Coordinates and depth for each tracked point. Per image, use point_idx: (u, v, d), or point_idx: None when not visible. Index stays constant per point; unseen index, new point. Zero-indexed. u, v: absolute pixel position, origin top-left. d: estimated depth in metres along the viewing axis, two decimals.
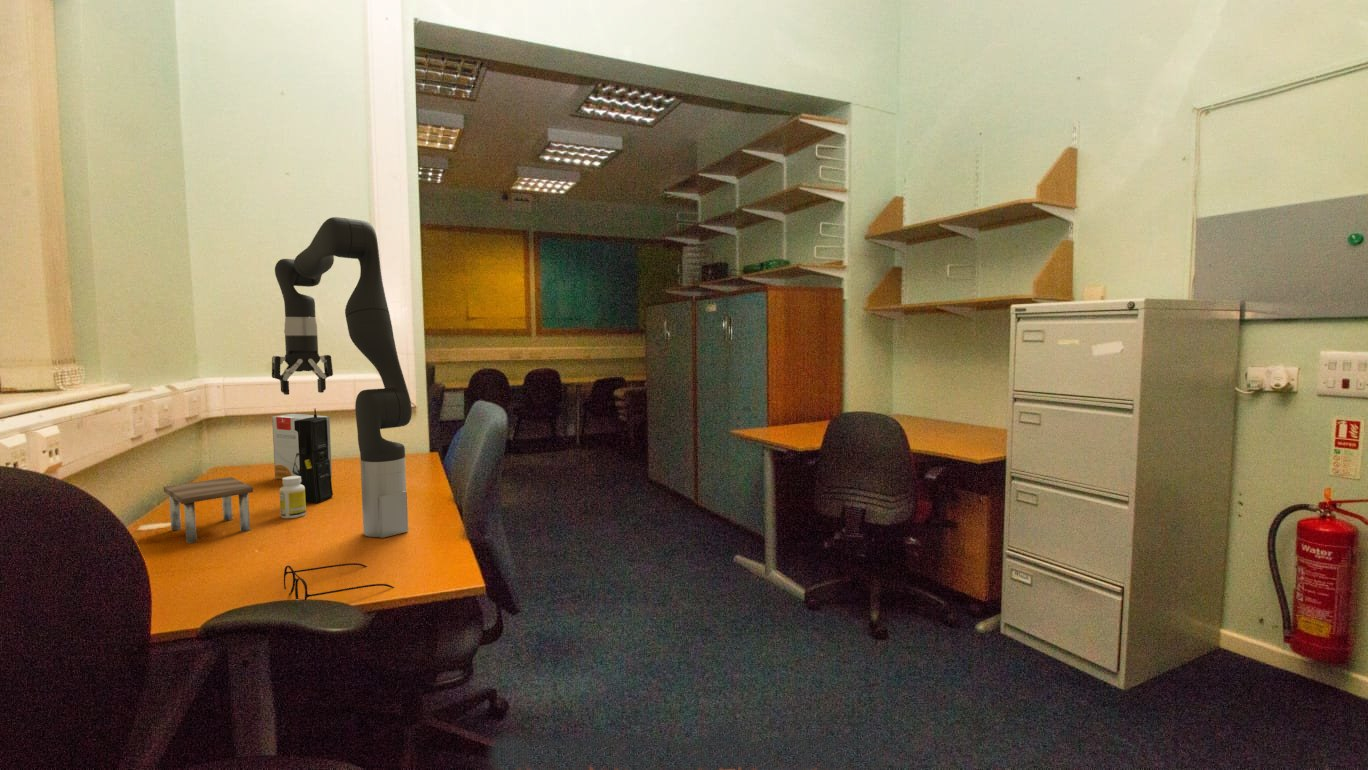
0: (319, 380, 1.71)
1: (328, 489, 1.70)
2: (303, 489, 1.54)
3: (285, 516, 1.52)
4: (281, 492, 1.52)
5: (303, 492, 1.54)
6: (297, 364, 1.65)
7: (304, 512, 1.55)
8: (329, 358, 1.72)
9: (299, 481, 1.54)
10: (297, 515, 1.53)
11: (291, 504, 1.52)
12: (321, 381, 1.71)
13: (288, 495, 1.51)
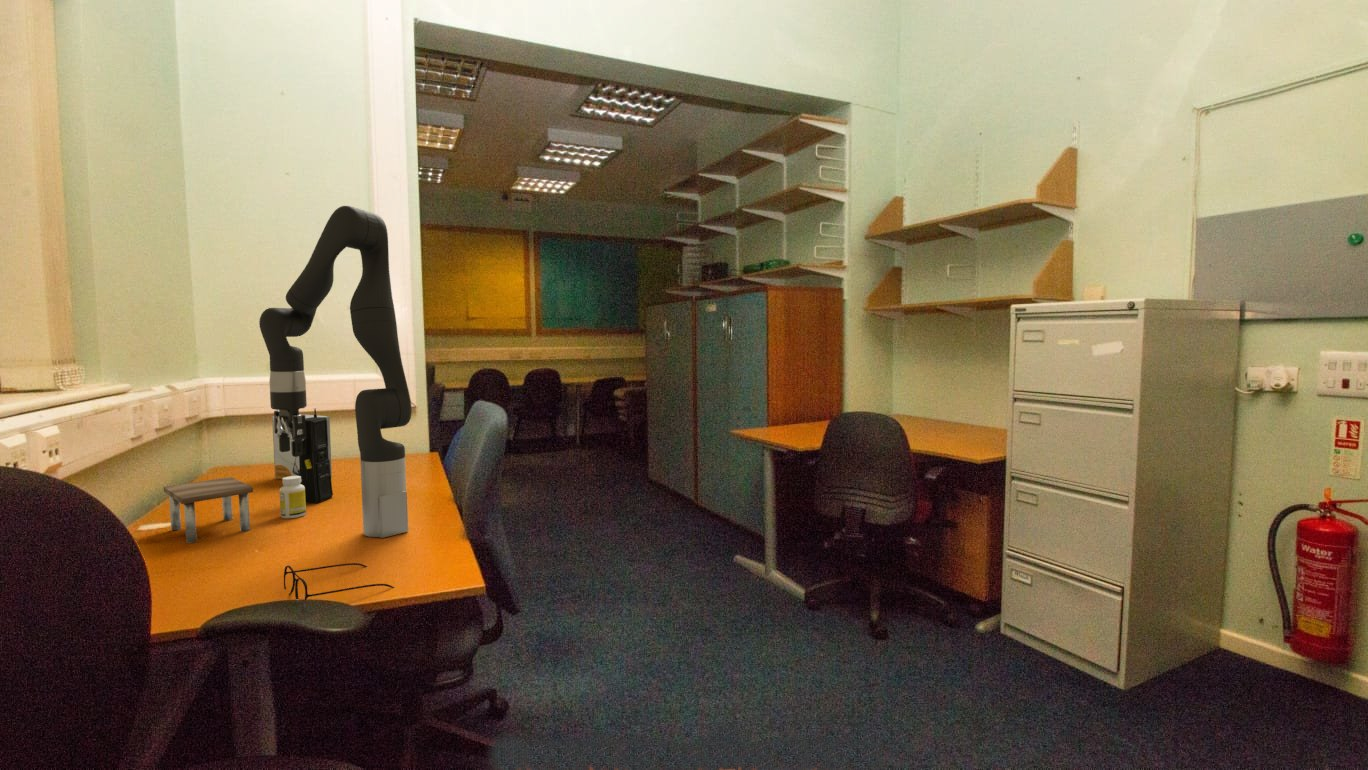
0: (286, 438, 1.56)
1: (328, 489, 1.70)
2: (303, 489, 1.54)
3: (285, 516, 1.52)
4: (281, 492, 1.52)
5: (303, 492, 1.54)
6: None
7: (304, 512, 1.55)
8: None
9: (299, 481, 1.54)
10: (297, 515, 1.53)
11: (291, 504, 1.52)
12: None
13: (288, 495, 1.51)
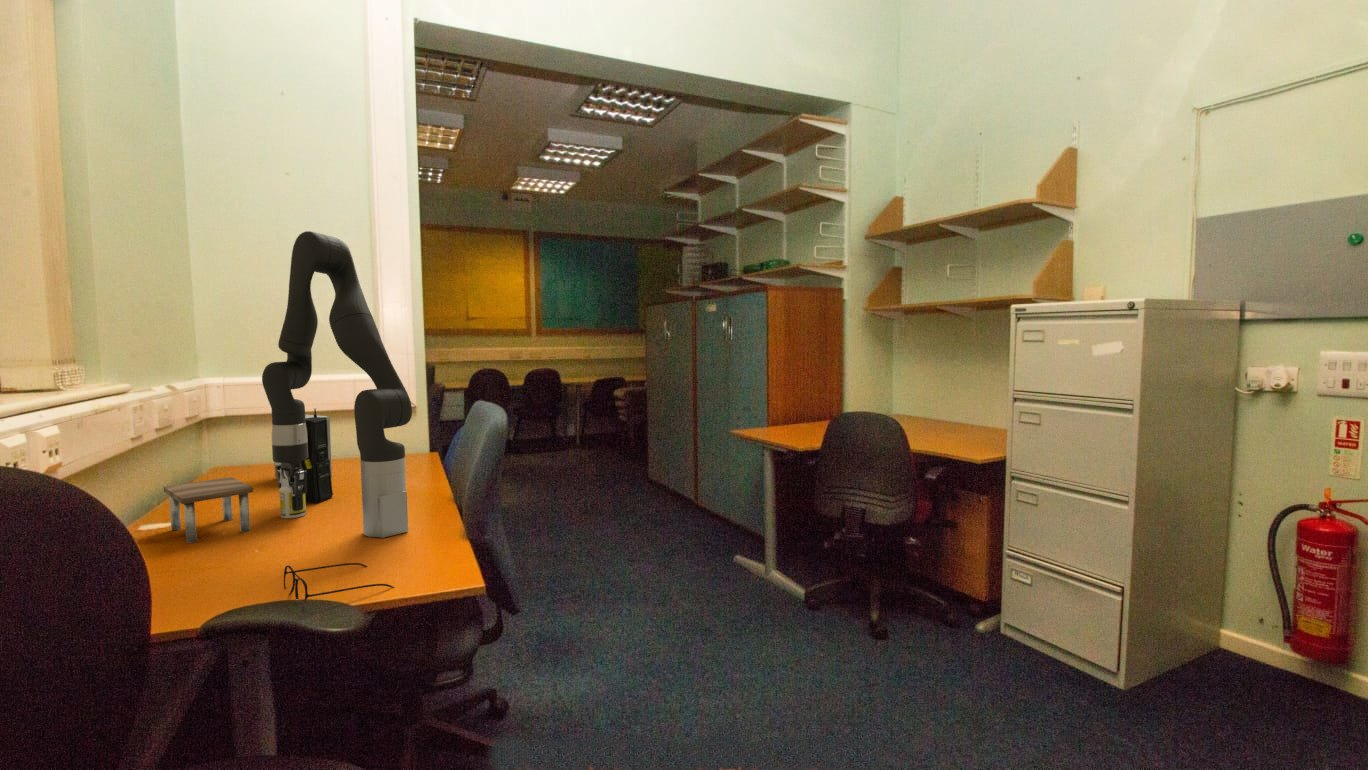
0: None
1: (328, 489, 1.70)
2: None
3: (285, 516, 1.52)
4: (281, 492, 1.52)
5: None
6: None
7: (304, 512, 1.55)
8: None
9: None
10: (297, 515, 1.53)
11: (291, 504, 1.52)
12: None
13: (288, 495, 1.51)
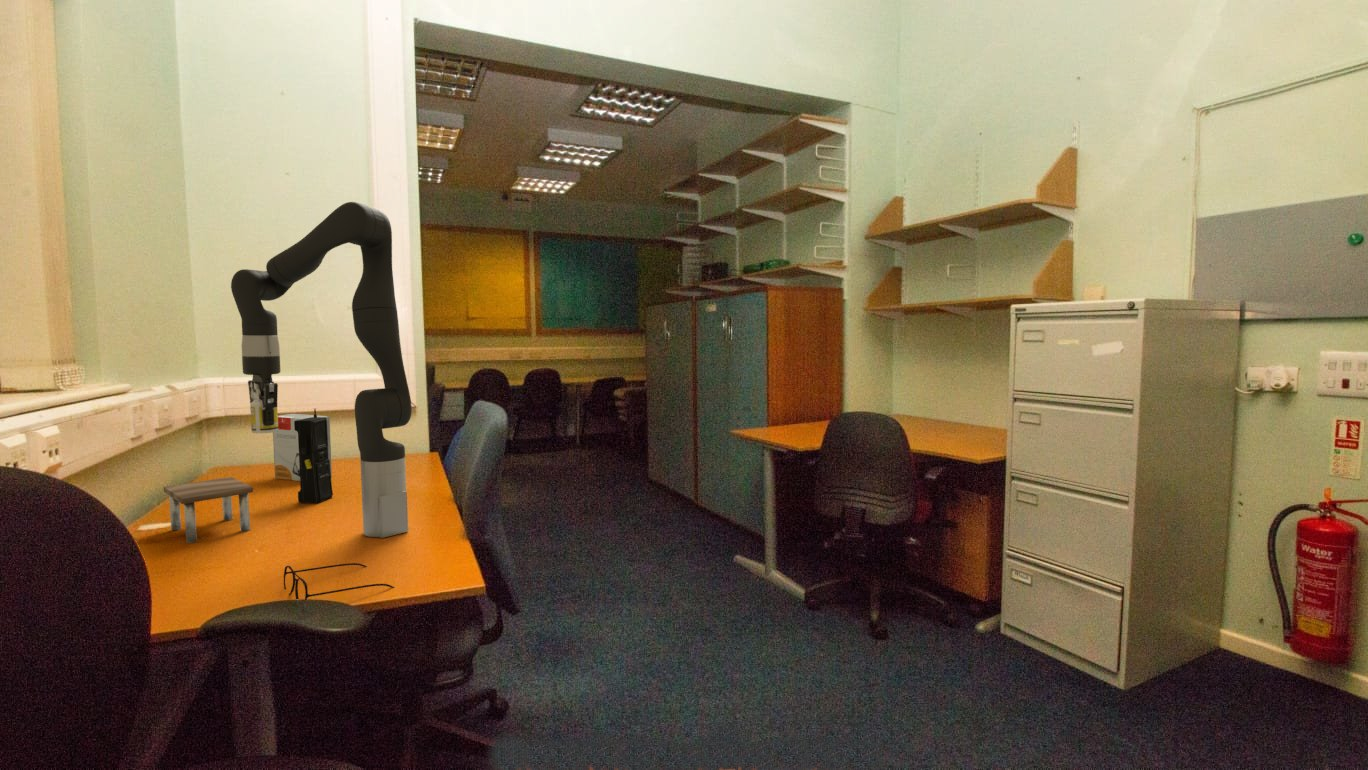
0: None
1: (328, 489, 1.70)
2: None
3: (255, 431, 1.47)
4: (251, 406, 1.47)
5: (275, 407, 1.49)
6: None
7: (276, 428, 1.50)
8: None
9: None
10: (268, 430, 1.48)
11: (261, 419, 1.47)
12: None
13: (258, 409, 1.46)
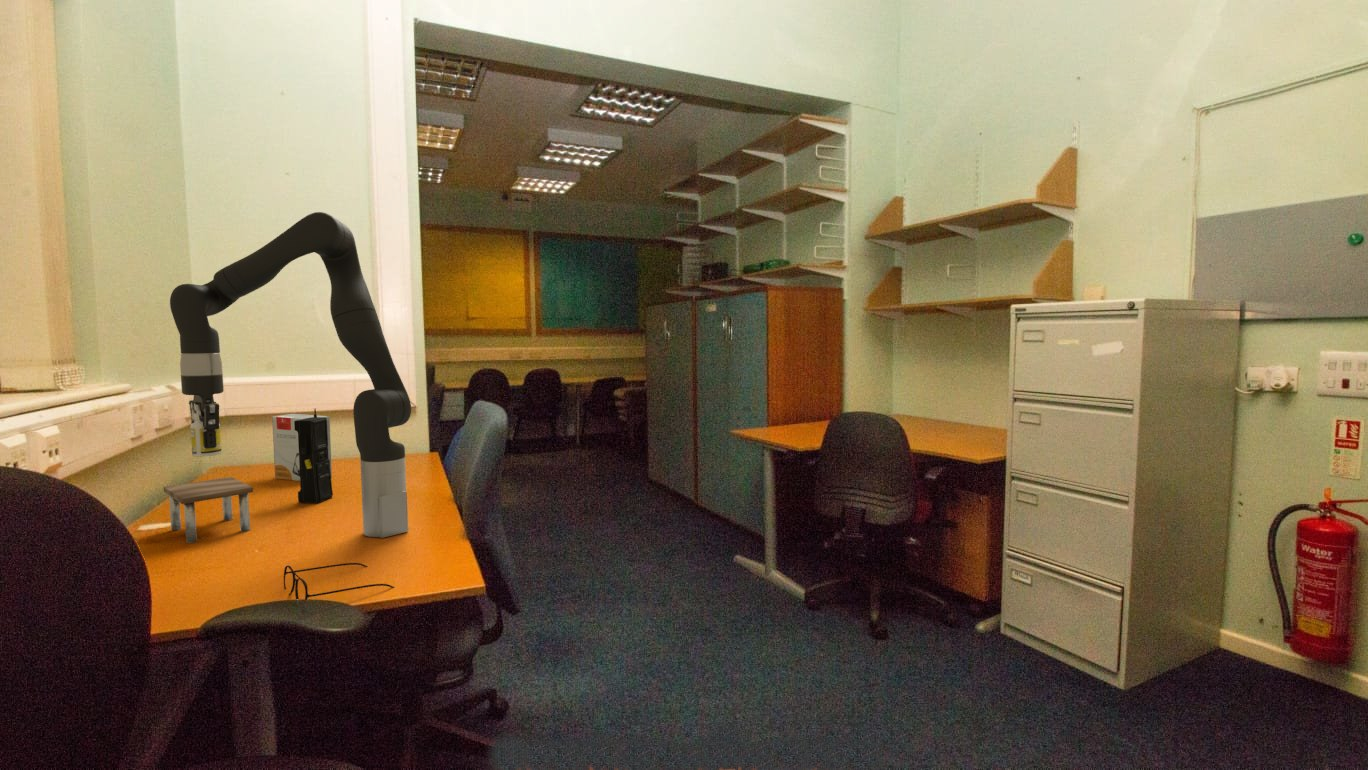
0: None
1: (328, 489, 1.70)
2: None
3: (196, 454, 1.39)
4: (192, 428, 1.39)
5: (217, 429, 1.41)
6: None
7: (219, 451, 1.42)
8: None
9: None
10: (210, 453, 1.40)
11: (202, 441, 1.39)
12: None
13: (199, 431, 1.38)
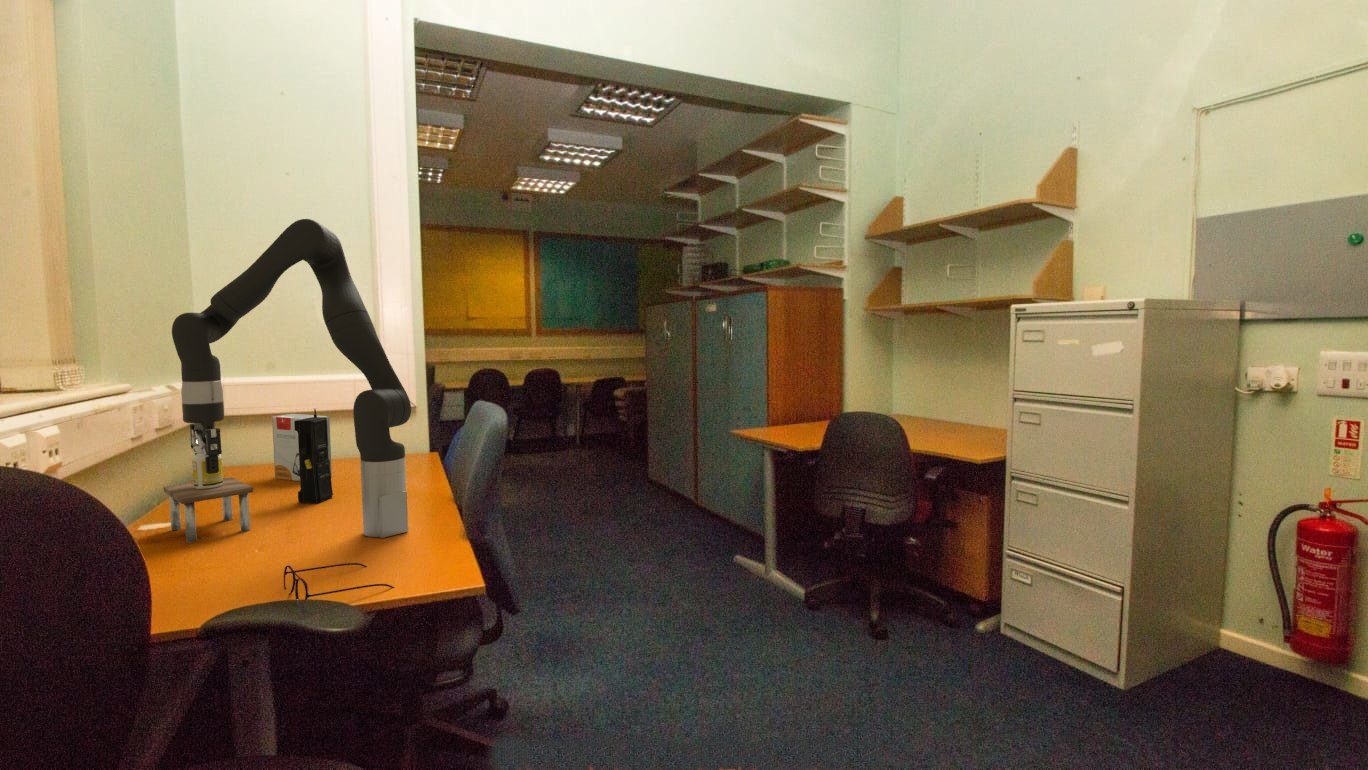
0: None
1: (328, 489, 1.70)
2: (219, 458, 1.42)
3: (198, 486, 1.40)
4: (193, 460, 1.39)
5: (219, 461, 1.42)
6: None
7: (220, 483, 1.42)
8: None
9: None
10: (212, 486, 1.41)
11: (204, 474, 1.40)
12: None
13: (200, 464, 1.39)
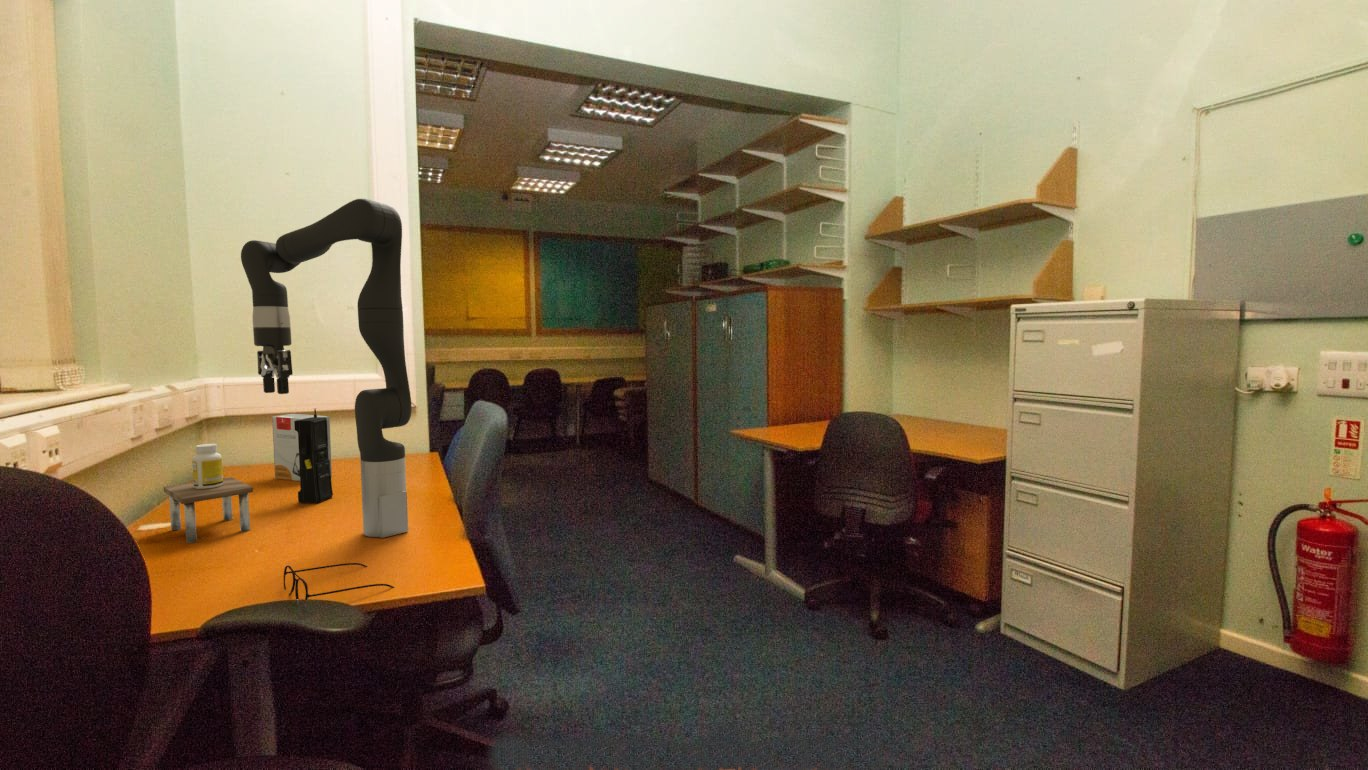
0: (270, 379, 1.51)
1: (328, 489, 1.70)
2: (219, 458, 1.42)
3: (198, 487, 1.40)
4: (193, 460, 1.39)
5: (219, 461, 1.42)
6: None
7: (220, 483, 1.42)
8: None
9: (214, 449, 1.42)
10: (212, 486, 1.41)
11: (204, 474, 1.40)
12: (273, 379, 1.52)
13: (200, 464, 1.39)
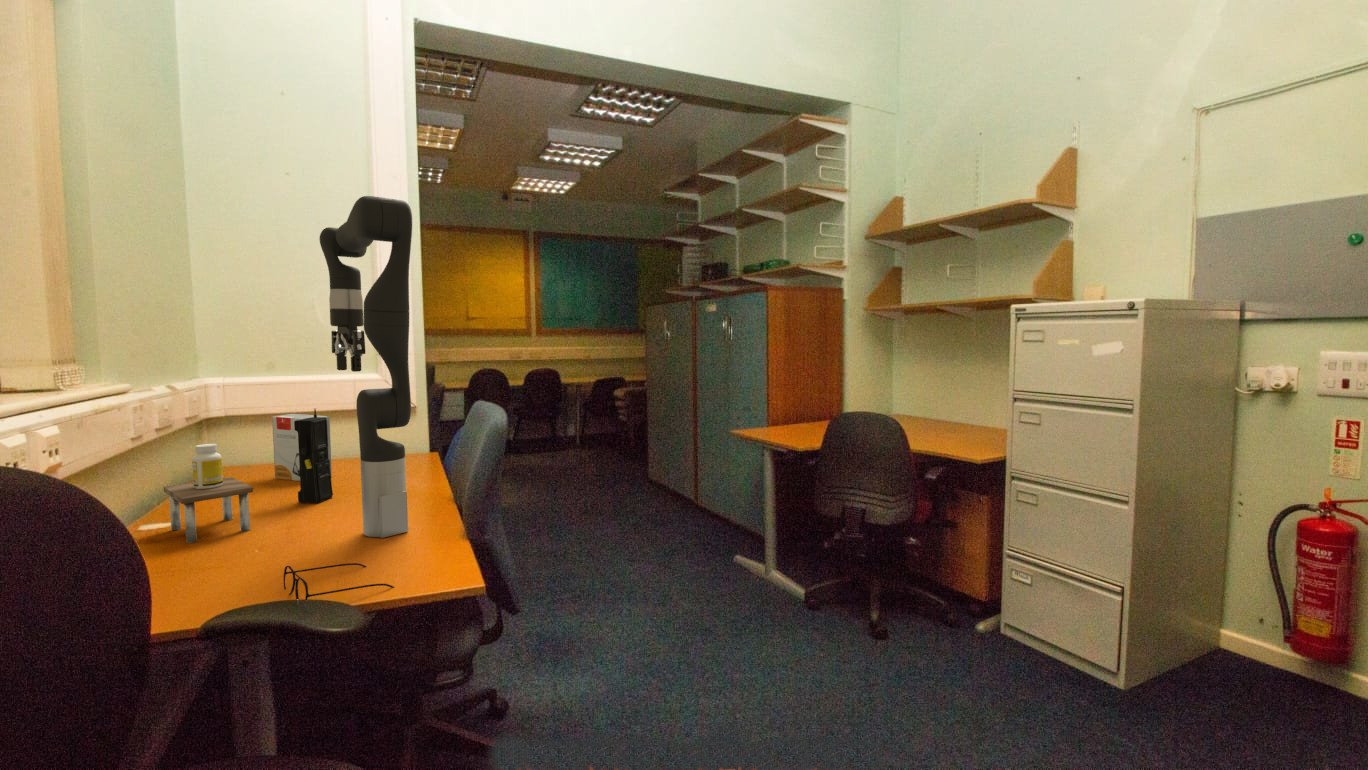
0: (343, 357, 1.61)
1: (328, 489, 1.70)
2: (219, 458, 1.42)
3: (198, 487, 1.40)
4: (193, 460, 1.39)
5: (219, 461, 1.42)
6: None
7: (220, 483, 1.42)
8: None
9: (214, 449, 1.41)
10: (212, 486, 1.41)
11: (204, 474, 1.40)
12: (346, 358, 1.62)
13: (200, 464, 1.39)
